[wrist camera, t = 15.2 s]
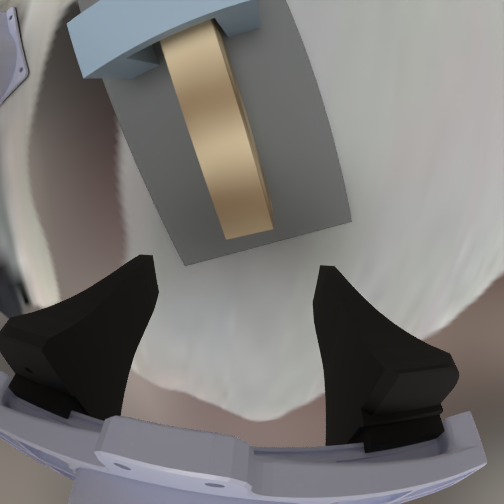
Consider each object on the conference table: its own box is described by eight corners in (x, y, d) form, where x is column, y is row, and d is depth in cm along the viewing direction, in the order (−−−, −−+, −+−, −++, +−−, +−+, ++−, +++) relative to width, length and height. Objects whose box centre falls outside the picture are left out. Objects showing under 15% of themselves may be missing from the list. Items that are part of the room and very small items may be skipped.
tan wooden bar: (165, 3, 14) (143, -13, 10) (206, -12, 13) (192, -33, 10) (232, 214, 22) (225, 240, 18) (272, 205, 21) (273, 230, 18)
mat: (62, -81, 6) (60, -82, 6) (196, -143, 3) (195, -145, 3) (186, 263, 25) (184, 266, 24) (350, 219, 22) (351, 221, 21)
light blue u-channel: (117, 35, 15) (66, 23, 9) (240, -18, 13) (230, -58, 7) (133, 78, 17) (83, 78, 11) (260, 27, 15) (257, -2, 9)
